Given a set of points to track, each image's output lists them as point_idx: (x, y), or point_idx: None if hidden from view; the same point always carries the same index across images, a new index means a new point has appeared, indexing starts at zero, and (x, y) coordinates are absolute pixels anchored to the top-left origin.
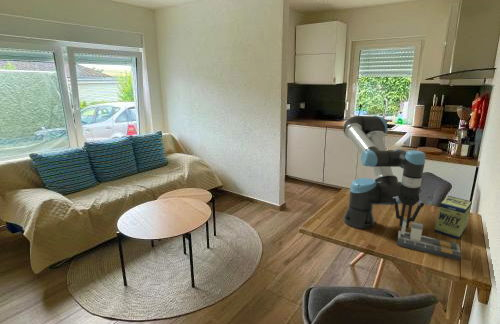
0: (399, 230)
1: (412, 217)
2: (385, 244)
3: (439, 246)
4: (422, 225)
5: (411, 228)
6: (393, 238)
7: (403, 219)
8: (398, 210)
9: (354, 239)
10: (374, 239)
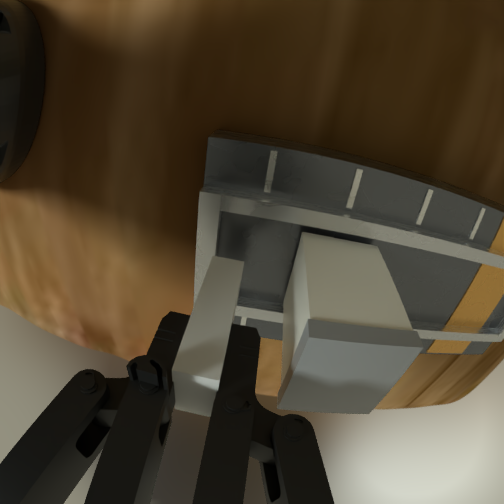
0: (216, 142)
1: (265, 482)
2: (144, 309)
3: (441, 334)
4: (402, 372)
5: (304, 285)
6: (180, 226)
7: (176, 378)
8: (67, 480)
9: (29, 295)
10: (85, 274)
